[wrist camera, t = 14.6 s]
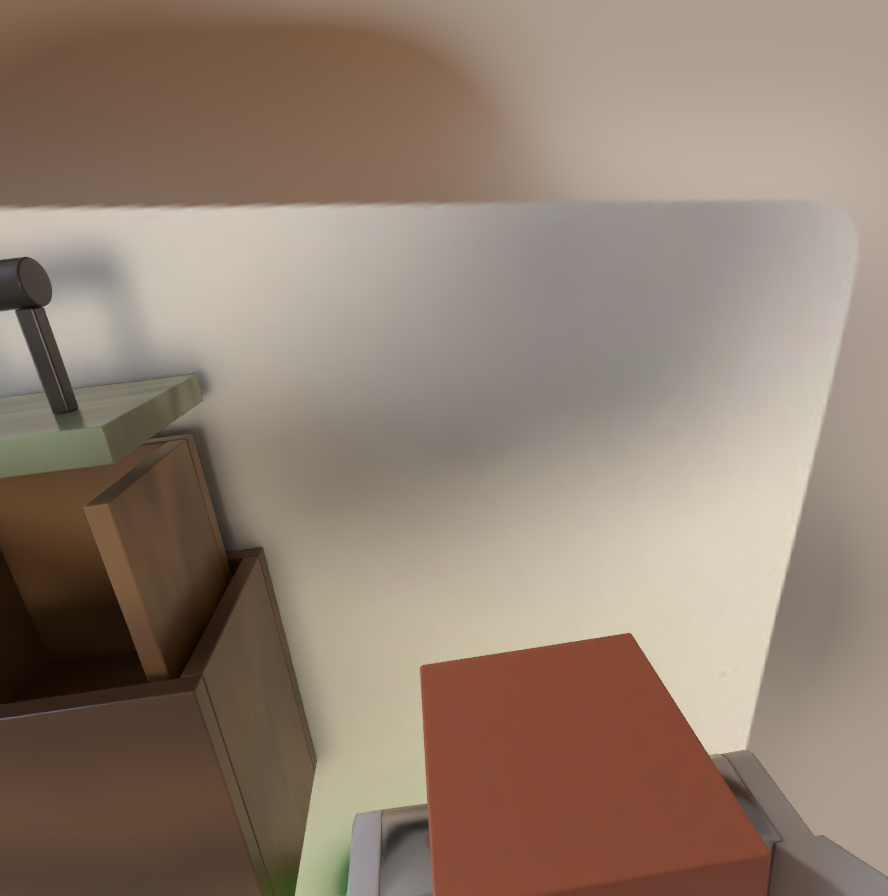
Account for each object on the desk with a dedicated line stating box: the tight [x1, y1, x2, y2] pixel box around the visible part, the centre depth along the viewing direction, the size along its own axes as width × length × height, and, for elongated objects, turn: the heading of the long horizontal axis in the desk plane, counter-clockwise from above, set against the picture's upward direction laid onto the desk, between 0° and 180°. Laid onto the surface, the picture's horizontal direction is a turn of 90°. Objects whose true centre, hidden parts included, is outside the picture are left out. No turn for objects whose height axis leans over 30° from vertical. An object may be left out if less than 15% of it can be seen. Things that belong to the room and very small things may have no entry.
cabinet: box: [0, 548, 317, 896], centre depth 24 cm, size 15×13×10 cm
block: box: [420, 633, 771, 896], centre depth 10 cm, size 4×4×4 cm
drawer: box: [0, 257, 233, 704], centre depth 20 cm, size 18×11×8 cm, turn 6°
